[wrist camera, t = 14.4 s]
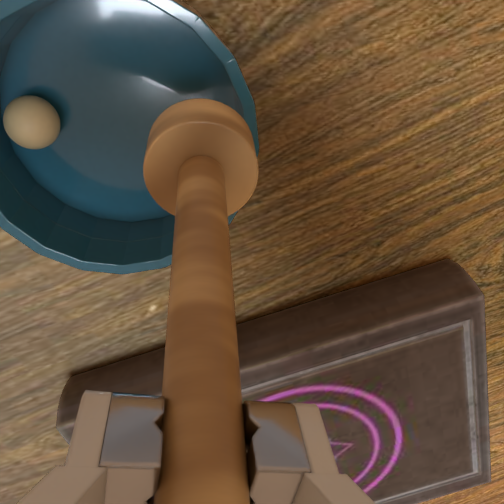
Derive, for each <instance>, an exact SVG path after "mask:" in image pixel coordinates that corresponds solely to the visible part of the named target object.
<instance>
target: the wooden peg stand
mask: <svg viewBox="0 0 504 504" xmlns="http://www.w3.org/2000/svg"><path fill="white" fill-rule="evenodd" d="M143 176H144V181H145V184H146V187H147V189H148V191H149V193H150V195H151V196H152V198H153V199H154V200H155V201H156V202H157V204H158V205H160V206H161V207H162V208H163V209H164V210H166V211H167V212H169V213H170V214H172V215H174V216H175V224H174V237H173V251H172V264H171V277H170V291H169V304H168V318H167V331H166V344H165V358H164V371H163V384H162V396H165V401H164V415H163V422H162V428H161V432H162V433H163V439H162V454H161V468H160V474H159V481H158V487H157V491H156V494H154V504H250V496H249V483H248V471H247V458H246V445H245V432H244V419H243V406H242V393H241V380H240V367H239V355H238V342H237V329H236V316H235V303H234V290H233V277H232V264H231V251H230V239H229V226H228V216H229V215H231V214H233V213H235V212H236V211H238V210H239V209H240V208H241V207H243V206H244V205H245V204H246V202H247V201H248V200H249V199H250V197H251V196H252V194H253V192H254V190H255V188H256V185H257V181H258V162H257V157H256V151H255V146H254V141H253V137H252V133H251V131H250V129H249V126H248V125H247V123H246V122H245V120H244V119H243V118H242V117H241V116H240V115H239V114H238V113H237V112H236V111H235V110H234V109H232V108H231V107H229V106H227V105H225V104H223V103H221V102H218V101H215V100H210V99H202V98H199V99H189V100H184V101H181V102H178V103H176V104H174V105H172V106H170V107H169V108H167V109H166V110H165V111H164V112H163V113H161V114H160V116H159V117H158V118H157V119H156V121H155V122H154V124H153V126H152V128H151V130H150V133H149V137H148V142H147V147H146V152H145V157H144V163H143Z"/></svg>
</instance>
